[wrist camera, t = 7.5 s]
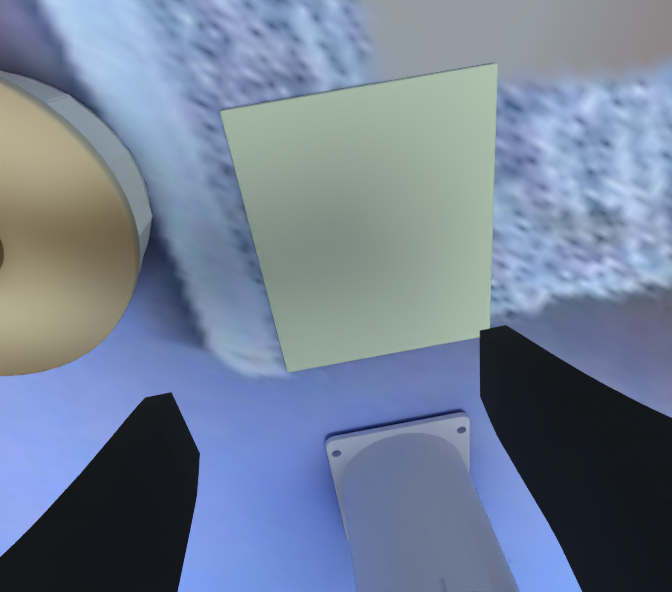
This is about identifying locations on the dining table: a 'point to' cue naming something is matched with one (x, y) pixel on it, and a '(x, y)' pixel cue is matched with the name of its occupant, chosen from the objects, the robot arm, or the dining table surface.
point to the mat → (372, 212)
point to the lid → (58, 239)
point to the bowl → (98, 148)
